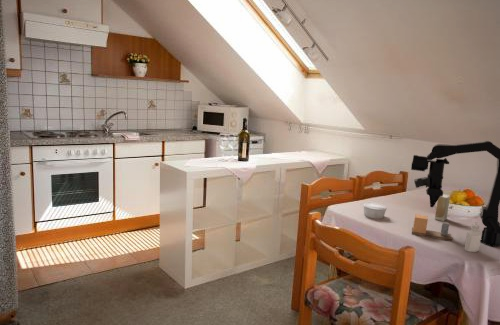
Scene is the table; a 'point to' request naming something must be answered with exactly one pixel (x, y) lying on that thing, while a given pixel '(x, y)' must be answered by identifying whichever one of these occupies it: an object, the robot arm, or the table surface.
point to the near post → (444, 229)
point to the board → (433, 235)
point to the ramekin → (374, 210)
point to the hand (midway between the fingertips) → (431, 207)
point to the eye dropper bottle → (473, 239)
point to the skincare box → (442, 208)
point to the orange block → (420, 223)
